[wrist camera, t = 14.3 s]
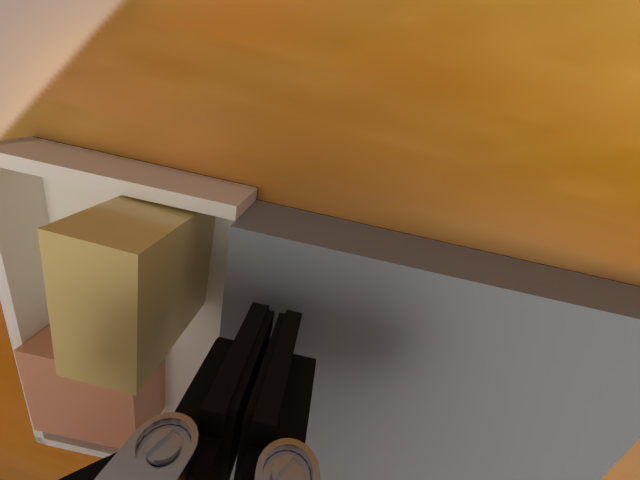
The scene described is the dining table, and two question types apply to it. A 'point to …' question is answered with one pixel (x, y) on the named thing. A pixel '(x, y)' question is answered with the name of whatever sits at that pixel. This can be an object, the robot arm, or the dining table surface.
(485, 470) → the slate board
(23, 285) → the tray
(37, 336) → the salmon pink block
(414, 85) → the dining table surface
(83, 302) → the tile mustard
